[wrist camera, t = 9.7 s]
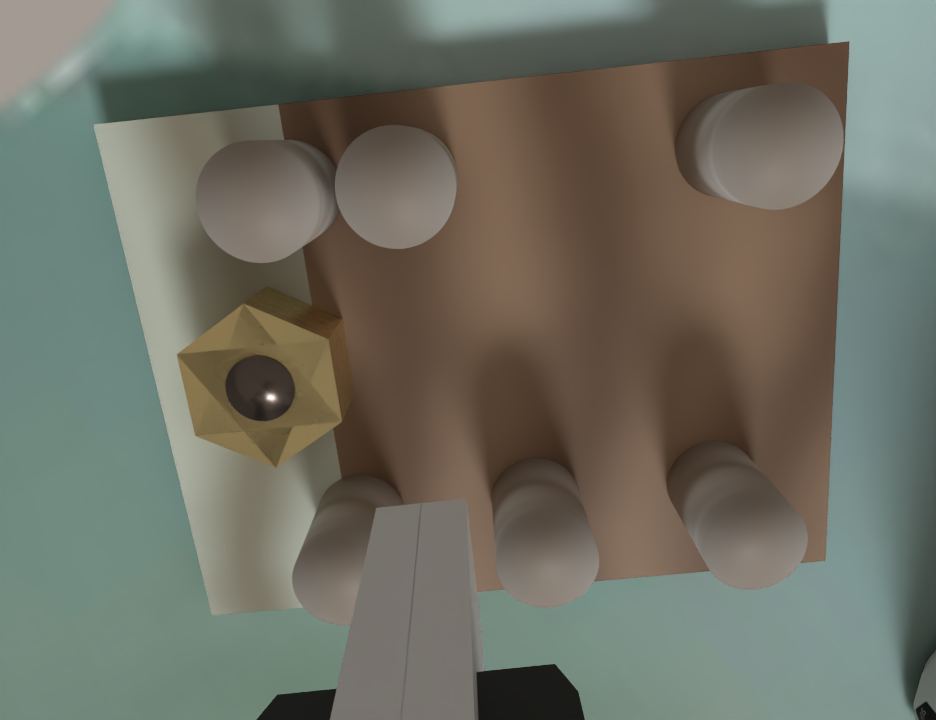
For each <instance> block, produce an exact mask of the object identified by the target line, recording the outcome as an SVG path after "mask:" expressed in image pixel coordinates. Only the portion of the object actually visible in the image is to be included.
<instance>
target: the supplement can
mask: <svg viewBox="0 0 936 720" xmlns="http://www.w3.org/2000/svg"><path fill="white" fill-rule="evenodd" d="M913 706H914V712H915V719H916V720H936V650H935V651H934V653H933V654H932V655H931V657H930V658H929V659H928V661H927V662H926V663H925V667H924V670H923V673H922V675H921V679H920V682H919V686H918V689H917V693H916V696H915V700H914V703H913Z"/></svg>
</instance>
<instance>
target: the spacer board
mask: <svg viewBox="0 0 936 720" xmlns="http://www.w3.org/2000/svg"><path fill="white" fill-rule="evenodd" d="M848 60H849V42H840V43H831V44H822V45H813V46H804V47H795V48H785V49H776V50H767V51H758V52H749V53H740V54H731V55H722V56H713V57H704V58H695V59H686V60H677V61H667V62H658V63H649V64H640V65H631V66H622V67H613V68H604V69H595V70H586V71H577V72H568V73H559V74H549V75H540V76H531V77H522V78H513V79H504V80H495V81H486V82H477V83H468V84H459V85H450V86H440V87H431V88H422V89H413V90H404V91H395V92H386V93H377V94H368V95H359V96H350V97H341V98H332V99H322V100H313V101H304V102H295V103H286V104H277V105H268V106H259V107H250V108H241V109H232V110H223V111H213V112H204V113H195V114H186V115H177V116H168V117H159V118H150V119H141V120H132V121H123V122H114V123H105V124H95V125H94V129H95V133H96V137H97V141H98V146H99V150H100V154H101V158H102V162H103V166H104V170H105V175H106V179H107V183H108V187H109V191H110V195H111V199H112V203H113V208H114V212H115V216H116V220H117V224H118V228H119V232H120V237H121V241H122V245H123V249H124V253H125V257H126V261H127V266H128V270H129V274H130V278H131V282H132V286H133V290H134V295H135V299H136V303H137V307H138V311H139V315H140V319H141V323H142V328H143V332H144V336H145V340H146V344H147V348H148V352H149V357H150V361H151V365H152V369H153V373H154V377H155V381H156V386H157V390H158V394H159V398H160V402H161V406H162V410H163V415H164V419H165V423H166V427H167V431H168V435H169V439H170V443H171V448H172V452H173V456H174V460H175V464H176V468H177V472H178V477H179V481H180V485H181V489H182V493H183V497H184V501H185V506H186V510H187V514H188V518H189V522H190V526H191V530H192V535H193V539H194V543H195V547H196V551H197V555H198V559H199V563H200V568H201V572H202V576H203V580H204V584H205V588H206V592H207V597H208V601H209V605H210V609H211V613H212V615H224V614H235V613H246V612H257V611H268V610H279V609H291V608H302V607H304V608H305V609H306V610H307V611H308V612H309V613H310V614H312V615H313V616H315V617H316V618H318V619H320V620H322V621H325V622H328V623H331V624H336V625H351V621H352V616H353V612H354V607H355V603H356V598H357V593H358V589H359V584H360V580H361V575H362V571H363V566H364V561H365V557H366V552H367V548H368V543H369V539H370V534H371V529H372V525H373V520H374V516H375V511H376V508H380V507H389V506H399V505H409V504H418V503H428V502H438V501H448V500H457V499H466V500H467V509H468V518H469V527H470V535H471V544H472V553H473V562H474V570H475V579H476V588H477V592H481V591H492V590H503V589H505V590H506V591H507V592H508V593H509V594H510V595H511V596H513V597H514V598H515V599H517V600H519V601H520V602H523V603H525V604H527V605H531V606H535V607H543V608H548V607H557V606H561V605H565V604H567V603H570V602H572V601H574V600H576V599H577V598H579V597H580V596H582V595H583V594H584V593H585V592H586V591H587V590H588V589H589V588H590V586H591V585H592V583H593V582H594V581H603V580H615V579H626V578H637V577H648V576H659V575H671V574H682V573H693V572H704V571H710V572H711V573H712V574H713V575H714V576H715V577H716V578H717V579H718V580H720V581H721V582H723V583H724V584H726V585H729V586H731V587H734V588H739V589H747V590H751V589H761V588H765V587H769V586H771V585H774V584H776V583H778V582H780V581H782V580H783V579H785V578H786V577H787V576H789V575H790V574H791V573H792V572H793V571H794V570H795V569H796V568H797V567H798V565H799V564H800V563H805V562H816V561H825V557H826V535H827V514H828V492H829V470H830V449H831V427H832V406H833V384H834V362H835V341H836V319H837V298H838V276H839V254H840V233H841V211H842V190H843V168H844V146H845V125H846V103H847V82H848ZM267 286H268V287H270V288H273V289H275V290H277V291H280V292H282V293H284V294H287V295H289V296H291V297H294V298H296V299H299V300H301V301H303V302H306V303H308V304H310V305H313V306H315V307H317V308H320V309H322V310H324V311H327V312H329V313H331V314H334V315H336V316H339V317H341V318H343V323H344V330H345V336H346V342H347V349H348V355H349V361H350V368H351V374H352V380H353V387H354V396H353V398H352V400H351V403H350V405H349V407H348V409H347V412H346V414H345V416H344V418H343V421H342V422H341V423H340V424H338V425H337V426H335V427H334V428H333V429H331V430H330V431H328V432H327V433H325V434H324V435H322V436H321V437H320V438H318V439H317V440H315V441H314V442H312V443H311V444H310V445H308V446H307V447H305V448H304V449H302V450H301V451H300V452H298V453H297V454H295V455H294V456H292V457H291V458H290V459H288V460H287V461H285V462H284V463H282V464H281V465H280V466H278V467H277V468H275V467H272V466H270V465H267V464H265V463H262V462H260V461H257V460H255V459H252V458H250V457H247V456H245V455H242V454H239V453H237V452H234V451H232V450H229V449H227V448H224V447H222V446H219V445H217V444H214V443H212V442H209V441H207V440H204V439H201V438H199V437H196V436H195V433H194V428H193V424H192V420H191V415H190V411H189V407H188V402H187V398H186V394H185V389H184V385H183V381H182V376H181V372H180V368H179V363H178V359H177V355H176V354H178V353H179V352H180V351H182V350H183V349H184V348H186V347H187V346H188V345H190V344H191V343H192V342H194V341H195V340H196V339H198V338H199V337H200V336H201V335H203V334H204V333H205V332H207V331H208V330H209V329H211V328H212V327H213V326H215V325H216V324H217V323H219V322H220V321H221V320H223V319H224V318H225V317H227V316H228V315H229V314H231V313H232V312H233V311H234V310H236V309H237V308H238V307H240V306H241V305H242V304H244V303H245V302H246V301H248V300H249V299H250V298H252V297H253V296H254V295H256V294H257V293H258V292H260V291H261V290H262V289H264V288H265V287H267Z"/></svg>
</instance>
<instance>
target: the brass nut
mask: <svg viewBox="0 0 936 720" xmlns="http://www.w3.org/2000/svg"><path fill="white" fill-rule="evenodd" d="M176 355H177V359H178V363H179V368H180V372H181V376H182V381H183V385H184V389H185V394H186V398H187V402H188V407H189V411H190V415H191V420H192V424H193V428H194V433H195V436H196V437H199V438H201V439H204V440H207V441H209V442H212V443H214V444H217V445H219V446H222V447H224V448H227V449H229V450H232V451H234V452H237V453H239V454H242V455H245V456H247V457H250V458H252V459H255V460H257V461H260V462H262V463H265V464H267V465H270V466H272V467H275V468H277V467H278V466H280V465H281V464H282V463H284V462H285V461H287V460H288V459H290V458H291V457H292V456H294V455H295V454H297V453H298V452H300V451H301V450H302V449H304V448H305V447H307V446H308V445H310V444H311V443H312V442H314V441H315V440H317V439H318V438H320V437H321V436H322V435H324V434H325V433H327V432H328V431H330V430H331V429H333V428H334V427H335V426H337V425H338V424H340V423H341V422H342V421H343V418H344V416H345V414H346V412H347V409H348V407H349V405H350V403H351V400H352V398H353V396H354V387H353V380H352V374H351V368H350V361H349V355H348V349H347V342H346V336H345V330H344V323H343V318H341V317H339V316H336V315H334V314H331V313H329V312H327V311H324V310H322V309H320V308H317V307H315V306H313V305H310V304H308V303H306V302H303V301H301V300H299V299H296V298H294V297H291V296H289V295H287V294H284V293H282V292H280V291H277V290H275V289H273V288H270V287H268V286H267V287H265V288H264V289H262V290H261V291H260V292H258V293H257V294H256V295H254V296H253V297H252V298H250V299H249V300H248V301H246V302H245V303H244V304H242V305H241V306H240V307H238V308H237V309H236V310H234V311H233V312H232V313H231V314H229V315H228V316H227V317H225V318H224V319H223V320H221V321H220V322H219V323H217V324H216V325H215V326H213V327H212V328H211V329H209V330H208V331H207V332H205V333H204V334H203V335H201V336H200V337H199V338H198V339H196V340H195V341H194V342H192V343H191V344H190V345H188V346H187V347H186V348H184V349H183V350H182V351H180V352H179V353H178V354H176Z"/></svg>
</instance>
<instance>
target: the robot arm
mask: <svg viewBox="0 0 936 720" xmlns="http://www.w3.org/2000/svg"><path fill="white" fill-rule="evenodd" d="M257 720H585V719H584V715H583V710H582V706H581V702H580V697H579V693H578V691H577V690H576V689H575V687H574V686H573V685H572V684H571V683H570V681H569V680H568V679H567V678H566V677H565V675H564V674H563V673H562V672H561V671H560V670H559V668H558V667H557V666H556V665H555V664H551V665H541V666H531V667H521V668H511V669H501V670H491V671H484V658H483V641H482V631H481V623H480V614H479V605H478V596H477V588H476V579H475V570H474V562H473V553H472V544H471V535H470V527H469V518H468V509H467V500H466V499H457V500H448V501H438V502H428V503H418V504H409V505H399V506H389V507H380V508H376V511H375V516H374V520H373V525H372V529H371V534H370V539H369V543H368V548H367V552H366V557H365V561H364V566H363V571H362V575H361V580H360V584H359V589H358V593H357V598H356V603H355V607H354V612H353V616H352V621H351V625H350V630H349V634H348V639H347V644H346V648H345V653H344V657H343V662H342V666H341V671H340V676H339V680H338V685H337V689H330V690H320V691H310V692H300V693H291V694H281V695H277V696H276V697H275V698H274V699H273V701H272V702H271V703H270V704H269V705H268V707H267V708H266V709H265V710H264V711H263V713H262V714H261V715H260V716H259V717H258V719H257Z"/></svg>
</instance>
